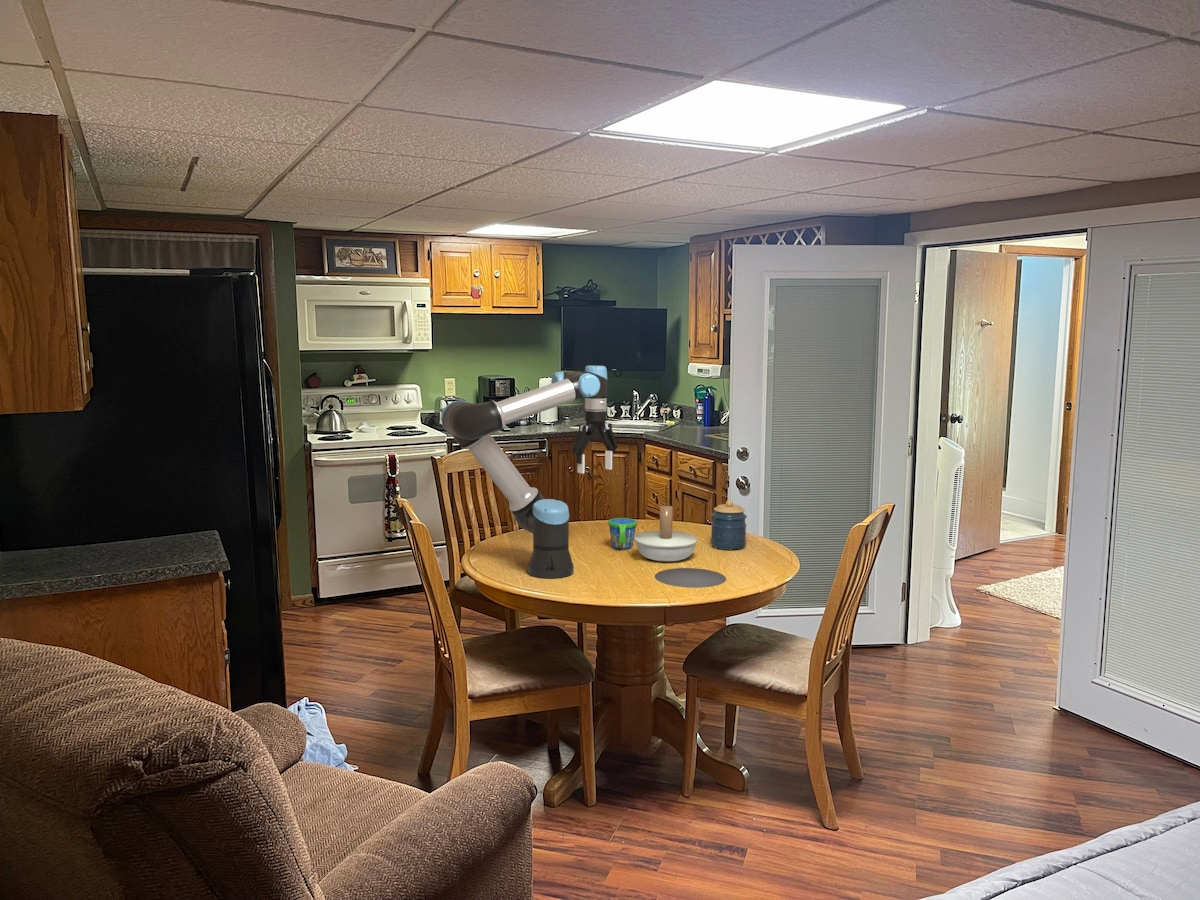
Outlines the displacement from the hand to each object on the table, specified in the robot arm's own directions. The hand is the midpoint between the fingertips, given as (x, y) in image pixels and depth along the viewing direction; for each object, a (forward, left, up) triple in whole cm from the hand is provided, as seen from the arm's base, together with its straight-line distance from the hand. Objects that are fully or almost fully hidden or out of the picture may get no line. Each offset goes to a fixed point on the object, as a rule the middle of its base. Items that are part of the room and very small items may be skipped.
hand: (595, 471), depth 308 cm
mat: (+2, -42, -31) cm, 52 cm away
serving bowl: (+16, -20, -31) cm, 40 cm away
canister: (+47, -24, -31) cm, 61 cm away
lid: (+16, -20, -24) cm, 35 cm away
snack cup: (+17, +2, -31) cm, 35 cm away
